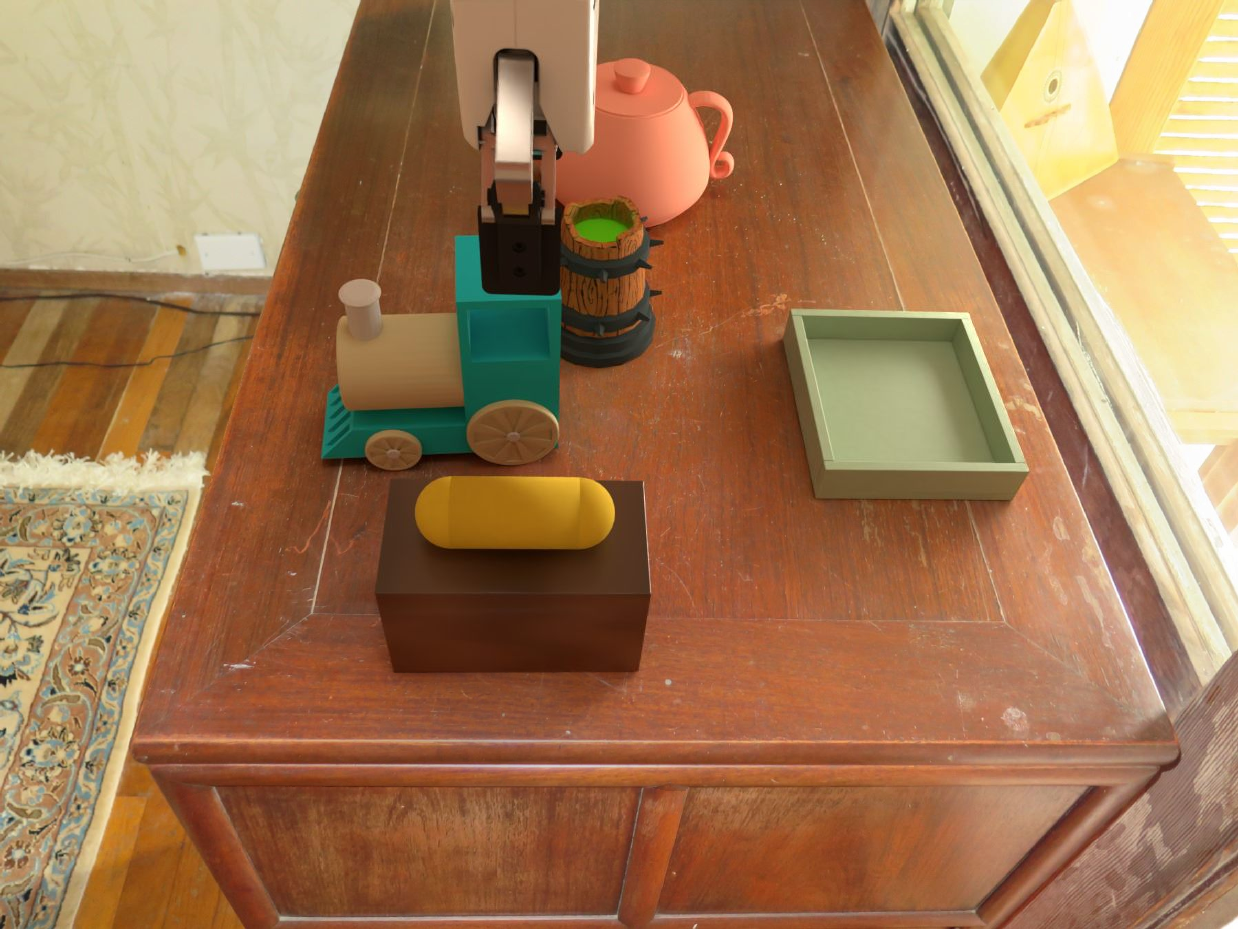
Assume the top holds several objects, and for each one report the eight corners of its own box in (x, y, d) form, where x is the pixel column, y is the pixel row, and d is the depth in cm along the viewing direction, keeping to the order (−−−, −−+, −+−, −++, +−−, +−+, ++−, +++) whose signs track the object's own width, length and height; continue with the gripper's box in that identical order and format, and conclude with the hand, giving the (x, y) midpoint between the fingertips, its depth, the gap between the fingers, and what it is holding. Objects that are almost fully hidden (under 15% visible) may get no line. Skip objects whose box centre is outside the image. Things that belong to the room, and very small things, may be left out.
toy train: (330, 394, 74) (292, 230, 63) (551, 386, 76) (553, 226, 65) (322, 476, 69) (279, 315, 58) (558, 465, 71) (562, 307, 60)
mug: (653, 286, 84) (667, 169, 76) (662, 371, 78) (678, 254, 69) (500, 283, 84) (496, 164, 75) (496, 369, 77) (491, 250, 68)
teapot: (490, 237, 87) (483, 109, 78) (499, 138, 97) (494, 14, 88) (736, 246, 89) (760, 120, 79) (721, 147, 99) (740, 25, 89)
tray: (1012, 500, 72) (1030, 471, 69) (815, 498, 71) (825, 469, 68) (955, 342, 82) (968, 312, 80) (782, 338, 81) (790, 308, 79)
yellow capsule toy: (611, 506, 58) (615, 463, 55) (614, 563, 55) (618, 521, 52) (421, 504, 57) (415, 460, 54) (415, 562, 55) (407, 519, 52)
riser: (633, 564, 66) (643, 480, 59) (638, 672, 61) (651, 594, 54) (406, 563, 65) (390, 477, 58) (393, 672, 60) (374, 593, 53)
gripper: (649, -119, 26) (613, 356, 39) (628, -302, 37) (605, 116, 50) (357, -135, 25) (420, 351, 38) (424, -315, 36) (456, 110, 49)
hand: (525, 218), depth 44 cm, fingers open, 9 cm apart
